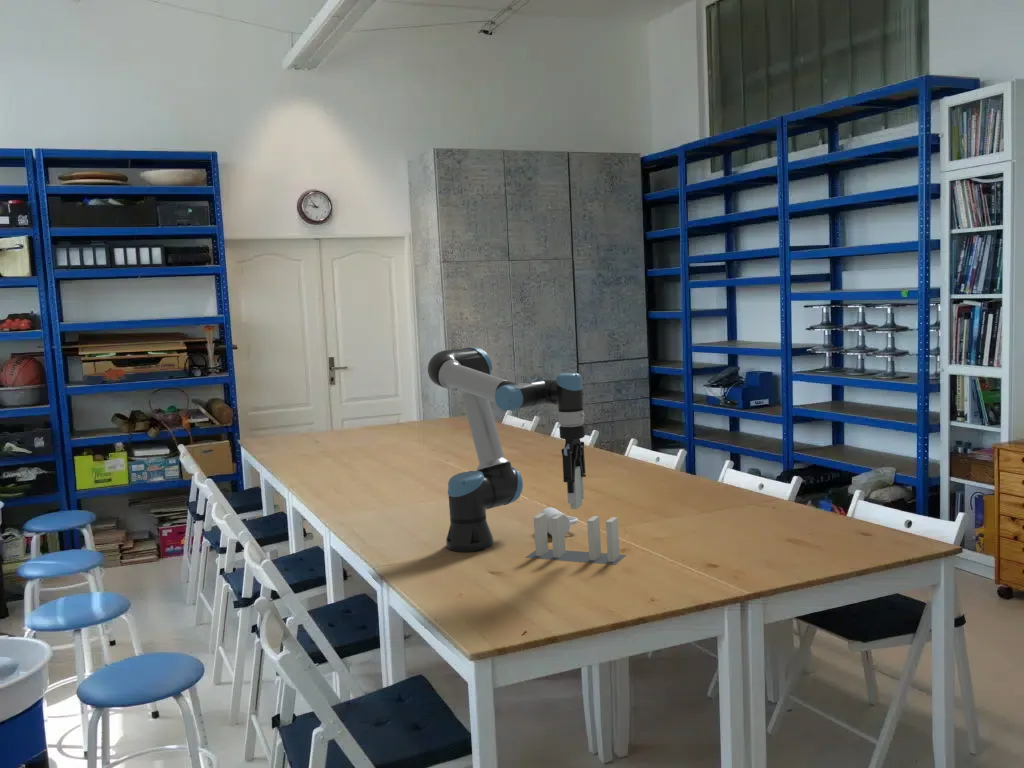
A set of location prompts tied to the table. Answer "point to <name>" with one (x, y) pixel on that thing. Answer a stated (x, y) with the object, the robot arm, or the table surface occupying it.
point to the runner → (575, 557)
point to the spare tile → (578, 488)
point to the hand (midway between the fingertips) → (576, 500)
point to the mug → (553, 512)
